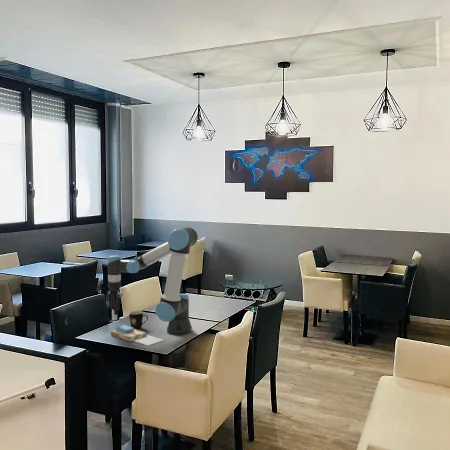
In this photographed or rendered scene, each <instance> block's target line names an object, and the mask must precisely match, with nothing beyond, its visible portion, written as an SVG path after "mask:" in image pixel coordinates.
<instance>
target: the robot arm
mask: <svg viewBox="0 0 450 450" xmlns="http://www.w3.org/2000/svg"><path fill="white" fill-rule="evenodd" d="M198 237H199V236H198V233H197V231H196V230H195V229H194V228H193V227H187V226H186V227H181V228H180V227H178V228H176V229H173V230H172V231H171V232H169V234H168V236H167V242H165V243H163V244H161V245H159V246H156V248H153V249H151V250H149V251H147V252H146V253H144V254H142V255H140V256H138V257H135V258H134V257H133V258H131V259H122V258H121V256H120V255H115V254H113V255H109V256H108V257H107V281H108V282H107V287H108V290H107V291H106V295H107V299H108V307H109V308H110V309H111V320H112V321H117V320H118V310H119V309H120V308H121V303H122V296H123V293H121V291H120V288H121V286H122V284H121V283H122V278H121V277H122V275H121V273H127V274H128V273H130V274H136V273H139V271H140V270H144V269H145V268H148V266H151V265H152V264H155V263H156V262H158V261H160V260H162V259H164V258H166V257H168V256H170V259H169V263H168V264H169V265H168V270H167V275H166V281H165V287H164V293H163V294H161V295H160V300H159V303H157V305H156V306H155V315H156V317H158V319H159V320H160V321H162V322H165V323H166V322H168V324H167V327H166V333H168V334H170V335H173V336H175V335H176V336H179V335H186V334H190V333H192V331H193V327H192V324H191V321H190V316H189V315H190V309H189V308H190V302H189V301H190V299H189V295H188V294H186V293H181V286H182V280H183V275H184V268H185V266H186V265H185V263H186V257H187V256H188V255H190V251H191V247H194V246H195V245H196V243H197V242H198Z"/></svg>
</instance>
